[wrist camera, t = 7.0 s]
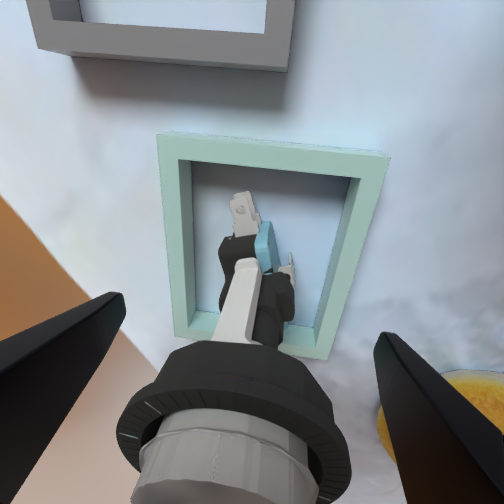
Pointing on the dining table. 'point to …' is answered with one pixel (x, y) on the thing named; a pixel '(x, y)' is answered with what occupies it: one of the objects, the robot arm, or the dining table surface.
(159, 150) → the mint green frame
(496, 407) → the bread roll
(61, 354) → the robot arm
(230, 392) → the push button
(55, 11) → the grey rectangular frame
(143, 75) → the dining table surface
